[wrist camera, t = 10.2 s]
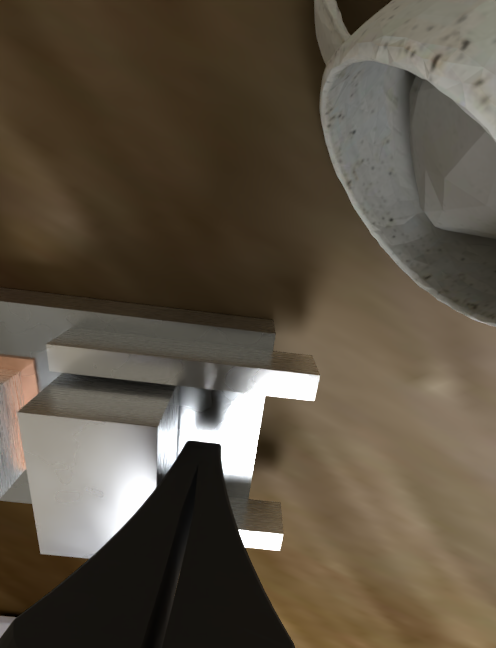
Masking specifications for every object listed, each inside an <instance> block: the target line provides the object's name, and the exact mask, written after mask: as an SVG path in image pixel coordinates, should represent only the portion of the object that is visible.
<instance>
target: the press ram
mask: <svg viewBox="0 0 496 648" xmlns="http://www.w3.org/2000/svg"><path fill="white" fill-rule="evenodd" d="M179 393H180V386H176V385H167V384H158V383H150V382H141V381H132V380H123V379H114V378H105V377H96V376H87V375H79V374H70V373H62V374H60V375H59V376H58V377H57V378H56V379H55V380H53V381H52V382H51V383H50V384H49V385H48V386H47V387H45V388H44V389H43V390H42V391H41V392H40V393H39V394H37V395H36V396H35V397H34V398H33V399H32V400H30V401H29V402H28V403H27V404H26V405H25V406H24V407H22V408H21V409H20V410H19V411H18V412H17V416H18V422H19V428H20V434H21V440H22V446H23V452H24V458H25V464H26V470H27V476H28V482H29V488H30V494H31V500H32V506H33V512H34V518H35V524H36V530H37V536H38V542H39V548H40V554H47V555H57V556H68V557H78V558H89V559H90V558H91V557H92V556H93V555H94V554H95V553H96V552H97V551H98V550H99V549H101V548H102V547H103V546H104V545H105V544H106V543H107V542H108V541H109V540H110V539H111V538H112V537H113V536H114V535H115V534H116V533H117V532H118V531H119V530H120V529H121V528H122V527H123V526H124V525H125V524H126V522H127V521H128V520H129V519H130V518H131V517H132V516H133V515H134V514H135V513H136V511H137V510H138V509H139V508H140V507H141V506H142V505H143V503H144V502H145V501H146V500H147V498H148V497H149V496H150V495H151V493H152V492H153V491H154V490H155V488H156V487H157V486H158V485H159V483H160V482H161V481H162V479H163V478H164V476H165V475H166V474H167V472H168V471H169V469H170V468H171V466H172V465H173V463H174V462H175V460H176V452H177V432H178V413H179Z"/></svg>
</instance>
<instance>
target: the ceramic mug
mask: <svg viewBox="0 0 496 648" xmlns="http://www.w3.org/2000/svg"><path fill="white" fill-rule="evenodd" d="M314 13H315V28H316V37H317V41H318V44H319V48H320V51H321V55H322V57H323V60H324V62H325V64H326V68H325V70H324V74H323V78H322V83H321V91H320V104H319V110H320V116H321V124H322V127H323V131H324V137H325V142H326V145H327V148H328V151H329V155H330V158H331V161H332V164H333V167H334V169H335V172H336V175H337V176H338V178H339V180H340V181H341V183H342V185H343V187H344V189H345V190H346V192H347V194H348V197H349V199H350V201H351V203H352V205H353V207H354V209H355V210H356V212H357V213H358V215H359V216H360V218H361V219H362V221H363V222H364V224H365V225H366V226H367V228H368V229H369V231H370V233H371V235H372V236H373V237H374V238H375V239H376V240H377V241H378V243H379V245H380V246H381V247H382V248H383V249H384V250H385V251H386V252H387V253H388V254H389V255H390V256H391V258H392V259H393V260H394V262H395V263H396V264H397V265H398V266H399V267H400V268H401V269H402V270H403V271H404V272H405V273H406V274H407V275H408V276H409V277H410V278H411V279H412V280H413V281H414V282H415V283H416V284H417V285H418V286H420V287H421V288H423V289H424V290H426V291H427V292H429V293H430V294H432V295H433V296H434V297H435V298H436V299H437V300H439V301H440V302H442V303H444V304H446V305H448V306H450V307H451V308H452V309H454V310H456V311H458V312H460V313H462V314H464V315H466V316H467V317H469V318H471V319H473V320H476V321H479V322H482V323H484V324H487V325H491V326H495V327H496V0H392V1H391V2H390V3H388V4H387V5H386V6H385V7H383V8H382V9H381V10H380V11H378V12H377V13H376V14H375V15H373V16H372V17H371V18H370V19H369V20H368V21H366V22H365V23H364V24H363V25H362V26H361V27H360V28H359V29H357V30H356V31H355V32H354V33H353V34H352V35H350V34H349V33H348V31H347V29H346V27H345V25H344V23H343V21H342V16H341V12H340V10H339V8H338V6H337V2H336V0H314Z"/></svg>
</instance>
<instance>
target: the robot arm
mask: <svg viewBox="0 0 496 648" xmlns="http://www.w3.org/2000/svg"><path fill="white" fill-rule="evenodd" d="M221 447H222V446H221V445H220V444H219V443H211V442H202V441H193V440H188V441H187V442H186V443H185V445H184V447H183V449H182V450H181V452H180V454H179V456H178V457H177V459H176V460H175V462H174V463H173V465H172V466H171V468H170V469H169V471H168V472H167V474H166V475H165V476H164V478H163V479H162V481H161V482H160V483H159V485H158V486H157V487H156V488H155V490H154V491H153V492H152V493H151V495H150V496H149V497H148V498H147V500H146V501H145V502H144V503H143V505H142V506H141V507H140V508H139V509H138V510H137V511H136V513H135V514H134V515H133V516H132V517H131V518H130V519H129V520H128V521H127V522H126V524H125V525H124V526H123V527H122V528H121V529H120V530H119V531H118V532H117V533H116V534H115V535H114V536H113V537H112V538H111V539H110V540H109V541H108V542H107V543H106V544H105V545H104V546H103V547H102V548H101V549H99V550H98V551H97V552H96V553H95V554H94V555H93V556H92V557H91V558H90V559H89V560H87V561H86V562H85V563H84V564H83V565H82V566H80V567H79V568H78V569H77V570H76V571H75V572H73V573H72V574H71V575H70V576H69V577H68V578H67V579H65V580H64V581H63V582H62V583H61V584H59V585H58V586H57V587H56V588H54V589H53V590H52V591H51V592H49V593H48V594H47V595H45V596H44V597H43V598H41V599H40V600H39V601H38V602H36V603H35V604H34V605H32V606H31V607H30V608H28V609H27V610H26V611H25V612H23V613H22V614H21V615H19V616H18V617H10V616H0V648H295V646H294V643H293V641H292V640H291V638H290V636H289V635H288V633H287V631H286V629H285V628H284V626H283V624H282V622H281V621H280V619H279V617H278V615H277V613H276V612H275V610H274V608H273V606H272V604H271V602H270V600H269V598H268V596H267V594H266V593H265V591H264V589H263V586H262V584H261V582H260V580H259V578H258V576H257V574H256V571H255V569H254V567H253V565H252V563H251V561H250V558H249V556H248V553H247V551H246V548H245V546H244V543H243V541H242V538H241V535H240V533H239V530H238V527H237V524H236V521H235V518H234V515H233V511H232V508H231V504H230V501H229V497H228V493H227V488H226V484H225V479H224V474H223V467H222V459H221ZM180 570H181V571H180ZM179 574H180V575H179ZM178 578H179V579H178ZM177 582H178V583H177ZM176 586H177V588H176ZM175 591H176V592H175ZM174 595H175V596H174Z"/></svg>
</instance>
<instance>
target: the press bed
mask: <svg viewBox="0 0 496 648" xmlns="http://www.w3.org/2000/svg"><path fill="white" fill-rule="evenodd" d="M274 340H275V328H274V323H273V320H269V319H260V318H252V317H243V316H235V315H227V314H218V313H210V312H202V311H193V310H185V309H177V308H168V307H160V306H152V305H143V304H135V303H127V302H118V301H110V300H102V299H93V298H85V297H76V296H68V295H60V294H51V293H43V292H35V291H26V290H18V289H10V288H1V287H0V369H3V370H12V371H20V375H21V382H22V389H23V397H24V404H25V405H26V404H27V403H28V402H29V401H30V400H32V399H33V398H34V397H35V396H36V395H37V394H39V393H40V392H41V391H42V390H43V389H44V388H45V387H47V386H48V385H49V384H50V383H51V382H52V381H53V380H55V379H56V378H57V377H58V376H59V375H60V374H62V373H70V374H79V375H87V376H96V377H105V378H114V379H123V380H132V381H141V382H150V383H158V384H167V385H176V386H180V393H179V413H178V432H177V452H176V459H177V457H178V456H179V454H180V452H181V450H182V449H183V447H184V445H185V443H186V442H187V441H188V440H193V441H202V442H211V443H219V444H220V445H221V446H222V447H221V459H222V467H223V474H224V479H225V484H226V488H227V493H228V497H229V501H230V504H231V508H232V511H233V515H234V518H235V521H236V524H237V527H238V530H239V533H240V535H241V538H242V541H243V543H244V546H245V547H249V548H259V549H269V550H279V551H280V547H281V543H282V538H283V525H282V514H281V503H280V502H271V501H261V500H251V499H248V497H249V491H250V485H251V479H252V473H253V467H254V461H255V455H256V449H257V443H258V437H259V431H260V425H261V419H262V413H263V407H264V401H265V396H274V397H283V398H292V399H300V400H309V401H314V400H315V396H316V391H317V387H318V383H319V378H320V374H319V372H318V369H317V367H316V364H315V362H314V359H313V357H312V355H303V354H295V353H286V352H277V351H273V346H274ZM0 501H9V502H19V503H29V504H32V500H31V494H30V488H29V482H28V476H27V470H25V471H24V472H23V473H22V474H21V475H20V476H19V478H18V479H17V480H16V481H15V482H14V483H13V485H12V486H11V487H10V488H9V489H8V490H7V491H6V493H5V494H4V495H3V496H2V497H1V498H0Z"/></svg>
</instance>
